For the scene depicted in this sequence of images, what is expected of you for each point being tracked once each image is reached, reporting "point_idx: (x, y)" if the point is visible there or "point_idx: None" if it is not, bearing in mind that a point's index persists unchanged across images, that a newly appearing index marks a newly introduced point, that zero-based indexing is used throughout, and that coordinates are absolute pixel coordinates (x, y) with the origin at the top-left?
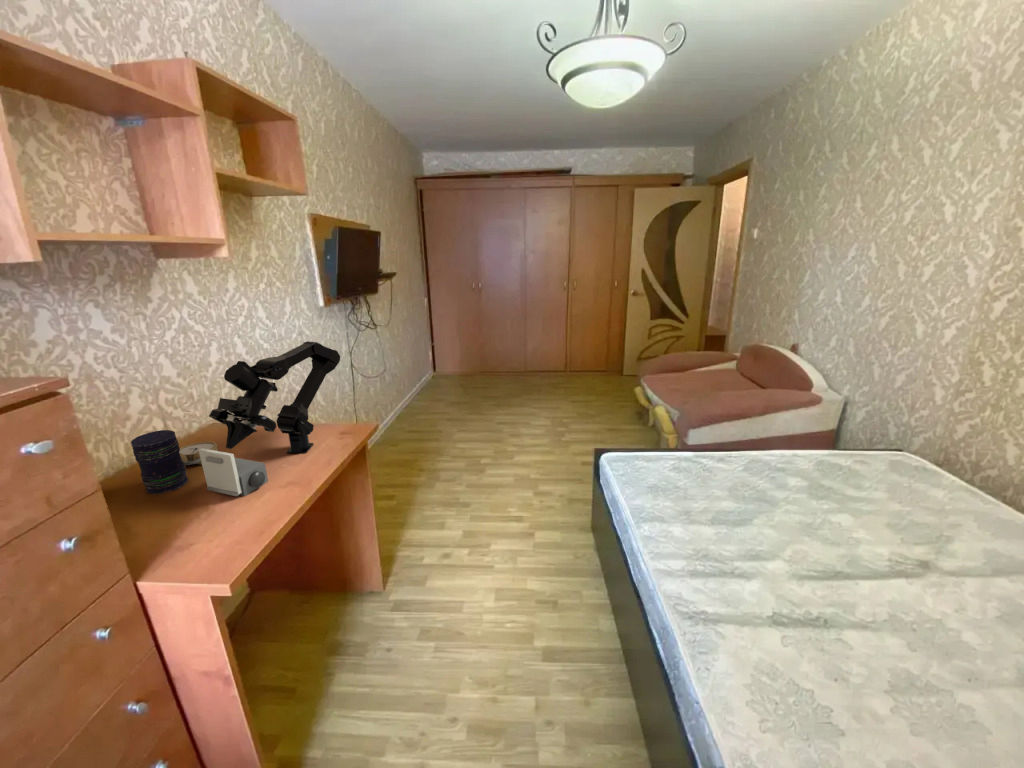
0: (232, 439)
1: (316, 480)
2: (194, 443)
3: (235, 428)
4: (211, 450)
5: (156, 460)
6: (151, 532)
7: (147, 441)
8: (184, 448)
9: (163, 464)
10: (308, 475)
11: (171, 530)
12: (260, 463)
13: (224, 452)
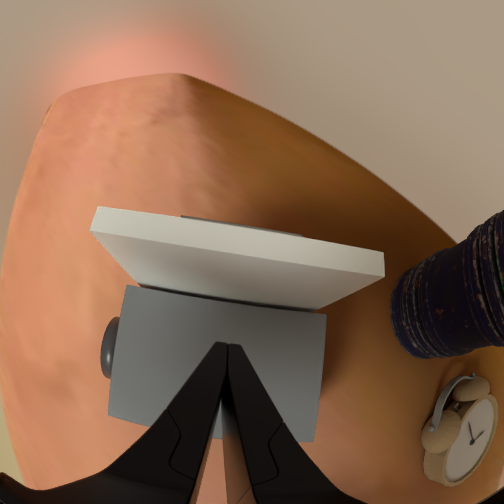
0: (191, 387)
1: (11, 399)
2: (485, 453)
3: (184, 495)
4: (294, 256)
5: (470, 237)
6: (271, 139)
7: None
8: (490, 428)
9: (454, 259)
10: (43, 432)
11: (234, 146)
12: (123, 411)
13: (167, 241)
